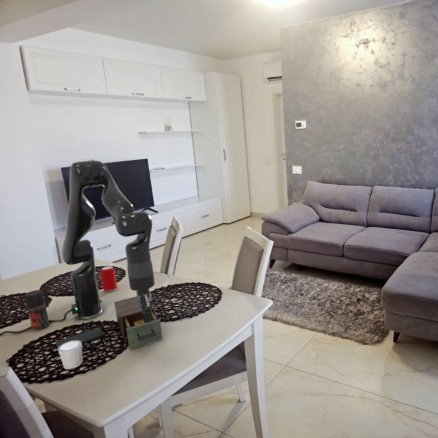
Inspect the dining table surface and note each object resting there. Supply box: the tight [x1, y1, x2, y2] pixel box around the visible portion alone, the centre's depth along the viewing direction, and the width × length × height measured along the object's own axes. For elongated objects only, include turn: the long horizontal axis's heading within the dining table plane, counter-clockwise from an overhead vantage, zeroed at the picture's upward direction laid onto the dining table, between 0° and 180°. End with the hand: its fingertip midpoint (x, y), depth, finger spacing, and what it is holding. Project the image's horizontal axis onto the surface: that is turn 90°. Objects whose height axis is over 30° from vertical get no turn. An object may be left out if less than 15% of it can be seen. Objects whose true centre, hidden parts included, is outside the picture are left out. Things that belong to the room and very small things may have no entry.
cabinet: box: [113, 295, 157, 340], centre depth 145 cm, size 16×13×10 cm
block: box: [134, 320, 144, 326], centre depth 136 cm, size 4×4×4 cm
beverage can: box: [100, 265, 118, 293], centre depth 182 cm, size 6×6×12 cm
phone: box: [55, 327, 104, 349], centre depth 137 cm, size 7×1×15 cm
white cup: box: [57, 340, 84, 370], centre depth 121 cm, size 7×7×7 cm
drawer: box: [123, 312, 163, 350], centre depth 134 cm, size 19×11×8 cm, turn 33°
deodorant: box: [24, 289, 50, 332], centre depth 146 cm, size 6×6×15 cm
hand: (147, 321), depth 120 cm, fingers closed
